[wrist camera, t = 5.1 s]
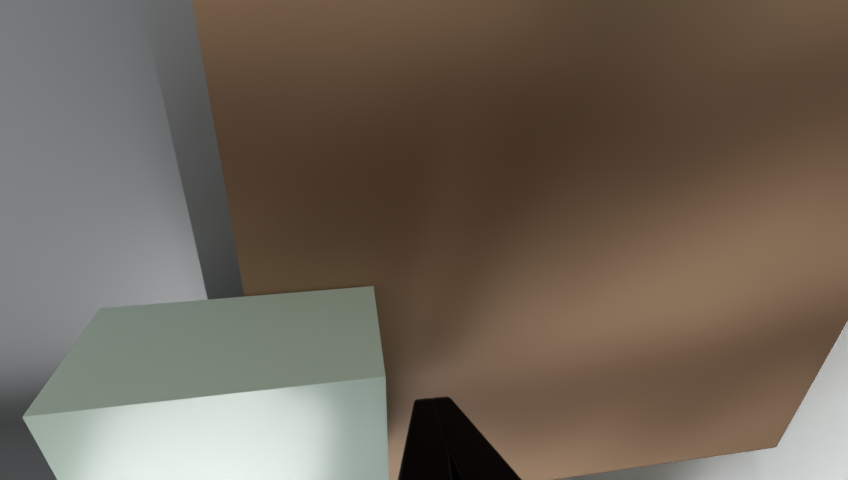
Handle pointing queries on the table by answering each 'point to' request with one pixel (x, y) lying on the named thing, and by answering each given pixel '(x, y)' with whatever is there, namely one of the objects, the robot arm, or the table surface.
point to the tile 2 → (221, 392)
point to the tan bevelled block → (553, 206)
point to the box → (99, 185)
